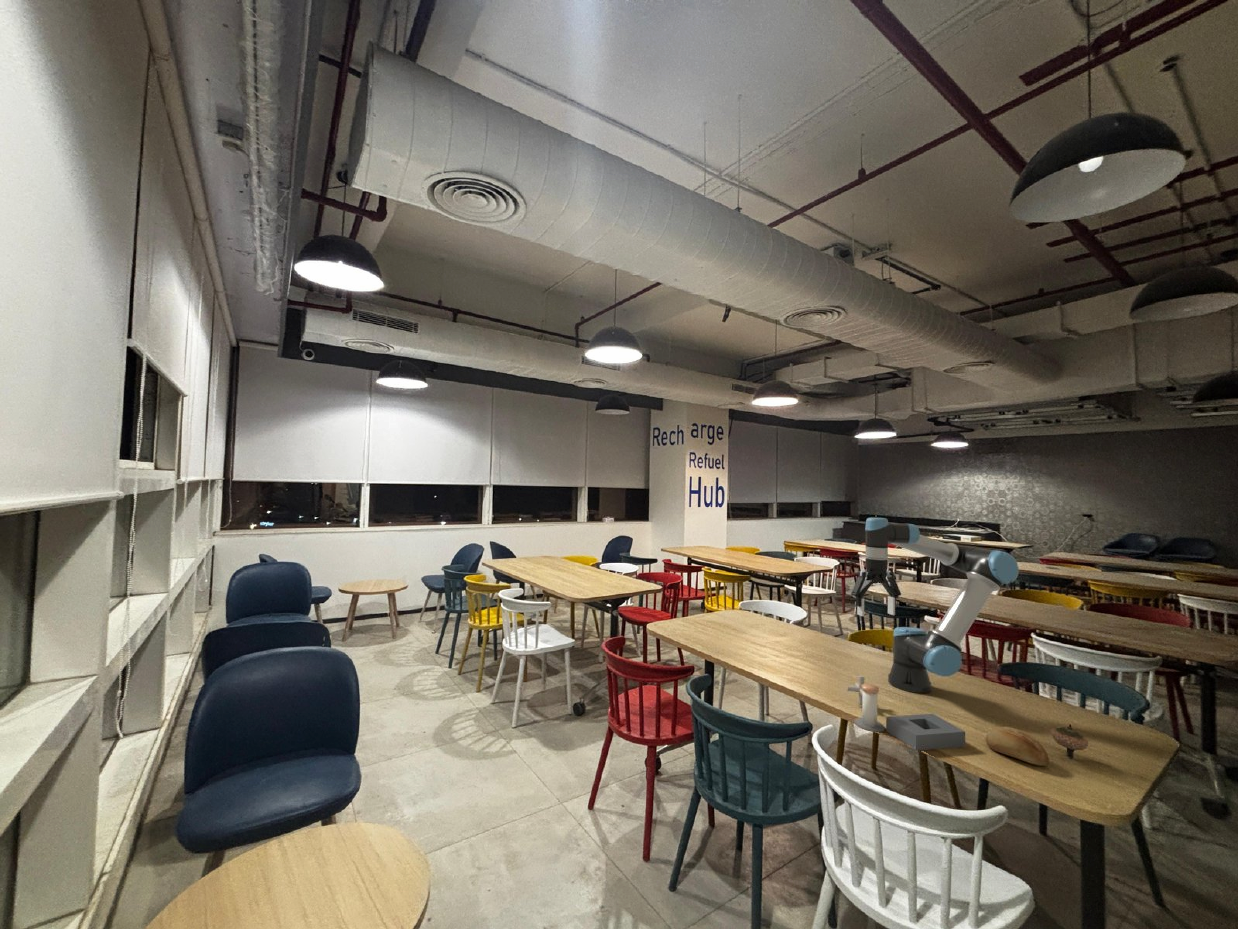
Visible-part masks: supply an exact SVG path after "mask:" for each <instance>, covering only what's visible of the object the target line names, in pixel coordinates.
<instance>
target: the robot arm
mask: <svg viewBox="0 0 1238 929" xmlns="http://www.w3.org/2000/svg"><path fill="white" fill-rule="evenodd" d="M864 529H865V557H866V558H865V561H864V562H865V565H864V566H865V568H866V571H863V570H858V577H857V579H856V580H855V583H854V586H853V588H852V590H851V593H850V594H851V596H853V597H855V605H856V607H857V611H856V612H857V613H856V615H858V616H860V617H865V598H864V596H865V594H866V593H867V591H868V590H869V589H870V587H871V586H872V585H874V584H881V585H882V586H883V588H884V589H885V591H886V592H887V594H888V595H887V614H889V615H891V616H895V615H896V606H897V599H899V597H900V596H902V593H901V590H900V587H899V586H898V582H897V580H896V578H895V572H894V571H892V570H888V567H889V564H888V562H889V561H888V557H889V554H888V553H889V549H888V547H889V544H892V545H894V546H897V547H899V548H903V549H905V550H908V551H911V552H914V553H917V554H920V555H923V556H924V557H925V556H926V557H928V558H932V559H934V560H936V561H937V560H938V561H939V562H940V563H941V564H943V565H944V566H947V567H949V568H953V569H955V570H957V571H959V572H962V573H964V574H966V577H967V579H966V581H965V583H964V584H963V586H962V588H961V589H960V590H959V592H958V593H957V595H956V597H955V598H954V599H953V602H952V603H951V605H950V606H949V608H948V609H947V611H946V612H945V614H944V616H943V617H942V619H941V620H940V622H939V623H938V625H937V627H936V628H935V629H934V628H933V629H929V630H928V632H927V630H925V629H922V628H917V627H907V626H899V627H895V628H894V629H893V636H892V638H893V640H892V641H893V645H892V646H893V649H892V650H893V651H892V653H893V655H892V656H893V659H892V660H893V661H892V665H891V668H890V672H889V673H888V676H887V681H888V683H889V685H891V686H893V687H895V688H897V689H899V690H902V691H906V692H910V693H918V694H927V693H931V692H932V683H931V681H930V676H929V673H928V672H930V673H931V674H935V675H936V676H940V677H951V676H953V675H955V674H956V673H957V672H958V671H960V669H961V667H962V665H963V661H962V659H963V658H962V654H961V652H962V650H963V647H962V646H961V643H962V641H963V639H964V638H965V637H966V635H967V633H968V631H969V630H970V628H971V627H972V625H973V624H974V622H975V620H976V619H977V617H978V616H979V614H980V613H981V610H982V609H983V607H984V606H985V605H986V603H987V601H988V599H989V598H990V596H991V595H992V593H993V592H998V591H1001V589H1002V587H1003V585H1005V584H1010V583H1014V582H1015V581H1016V580H1017V578H1018V577H1019V572H1020V569H1019V565H1018V562H1017V560H1016V559H1015V556H1013V555H1011V553H1008V552H1006V551H1002V550H998V549H989V548H988V549H987V548H981V547H976V546H966V545H960V544H957V543H955V542H954V543H952V542H947V543H946V542H944V541H940V540H937V539H934V538H932V537H929V536H926V535H923V534H921V532H920V530H919V527H918V526H917V525H915V524H912V523H907V522H906V523H901V522H900V523H898V522H889V520H888V519H887V518H886V517H885V518H884V517H868V518H866V520H865V528H864Z"/></svg>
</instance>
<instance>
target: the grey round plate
mask: <svg viewBox="0 0 1238 929" xmlns="http://www.w3.org/2000/svg"><path fill="white" fill-rule="evenodd" d="M853 722H854V724H855V725H856V726H857V728H860V729H862V730H864V731H867V732H870V733H882V732H884V731H886V726H884V724H883V723H881V722H880V721H878V720H877V727H869V728H866V727H868V726H865V725H864V724H863V723H862V717H857V718H854V721H853Z"/></svg>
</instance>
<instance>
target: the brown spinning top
mask: <svg viewBox="0 0 1238 929" xmlns="http://www.w3.org/2000/svg"><path fill="white" fill-rule="evenodd" d="M1050 736H1051V737H1052V739H1053V741H1055V742H1056V743H1057V744H1058V745H1060V746H1062V747H1064V748H1066V756H1065V757H1067V758H1070V759H1072V758H1073V759H1074V752H1075V751H1084V750H1085V749H1087V747H1088V746H1089V740H1088V739H1087V738H1086V736H1083V735H1082V734H1080V733H1079V731H1077V730H1074V729H1073V727H1072V724H1070V723H1069V725H1068V727H1064V726H1063V727H1062V726H1061V727H1054V728H1052V729H1051V730H1050Z"/></svg>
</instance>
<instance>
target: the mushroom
mask: <svg viewBox="0 0 1238 929" xmlns="http://www.w3.org/2000/svg"><path fill="white" fill-rule="evenodd" d="M862 690H863V699H862V705H861V706H862V708H861V715H862V716H861V718H862V723H863V724H864V725H865V726H868V727H877V721H878V694H879V690H880V689H879V687H878V686H877V685H874V684H870V683H864V684H862Z"/></svg>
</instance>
